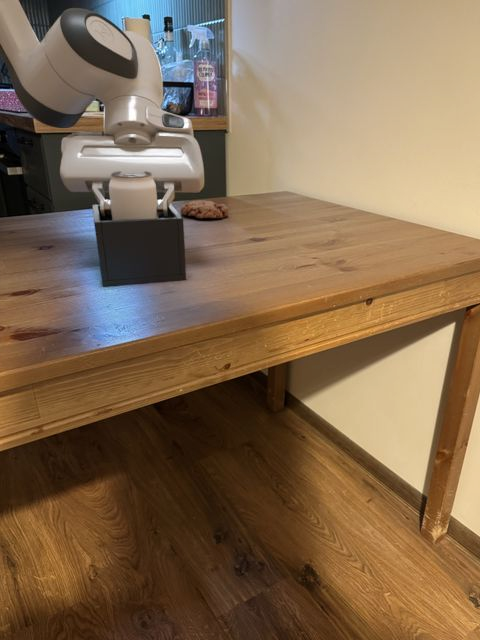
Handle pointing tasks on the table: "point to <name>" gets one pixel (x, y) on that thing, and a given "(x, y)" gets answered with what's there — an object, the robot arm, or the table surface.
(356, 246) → the table surface
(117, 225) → the dark grey open box
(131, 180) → the can
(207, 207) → the cookie
